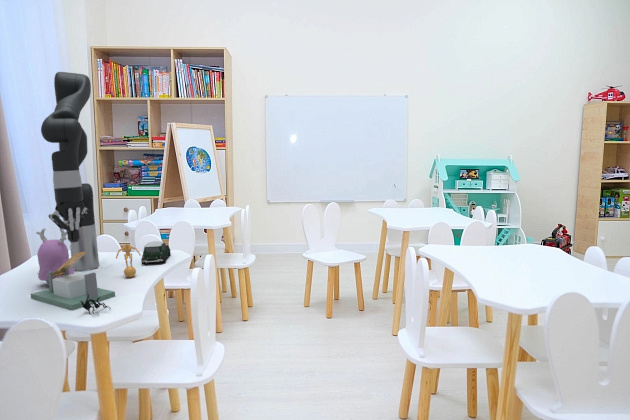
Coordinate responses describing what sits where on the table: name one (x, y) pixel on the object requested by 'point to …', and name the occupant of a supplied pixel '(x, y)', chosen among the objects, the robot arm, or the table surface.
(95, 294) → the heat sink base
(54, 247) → the toy character
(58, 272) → the strap
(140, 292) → the table surface
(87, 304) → the creature
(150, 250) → the miniature car
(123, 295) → the table surface
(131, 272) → the figurine
